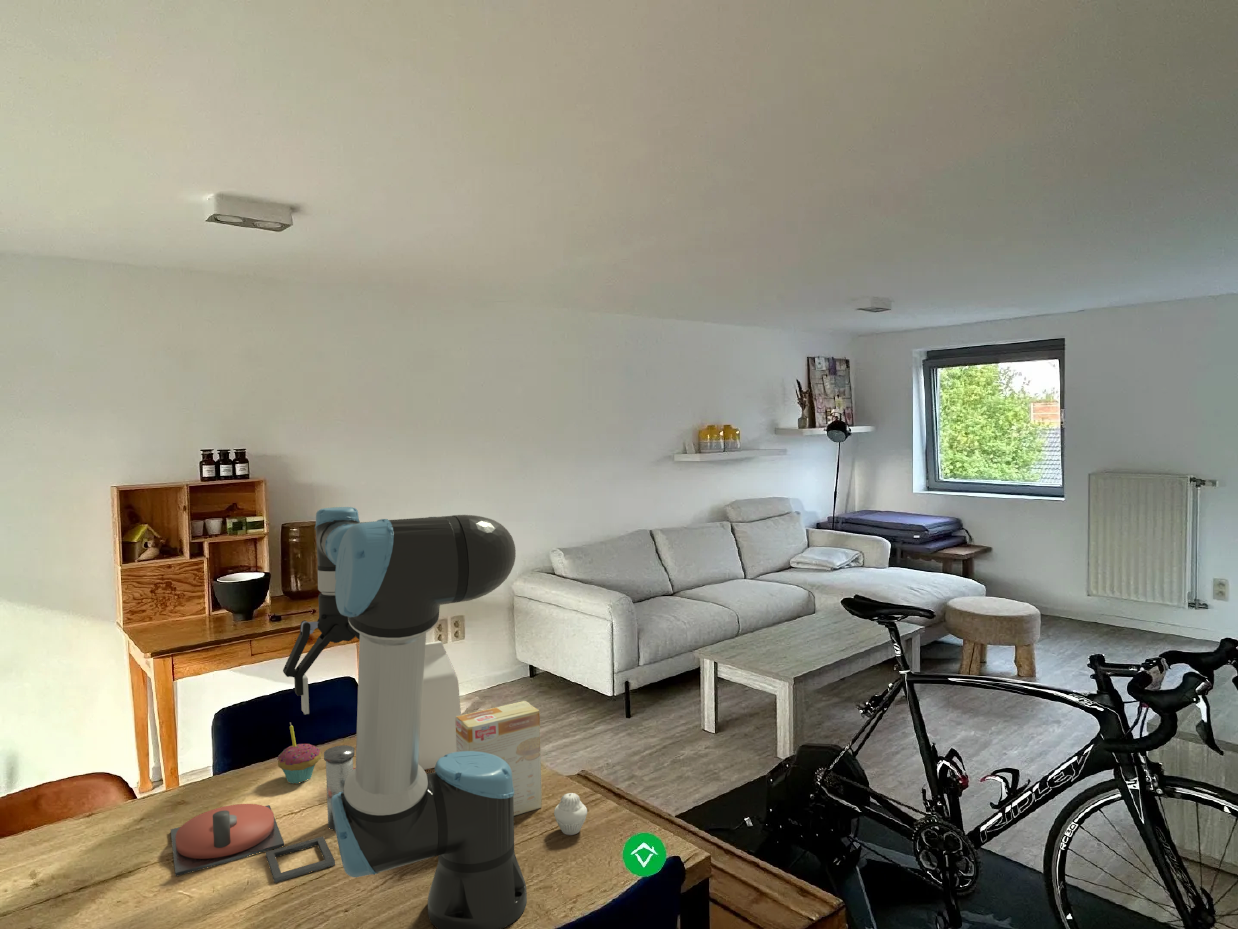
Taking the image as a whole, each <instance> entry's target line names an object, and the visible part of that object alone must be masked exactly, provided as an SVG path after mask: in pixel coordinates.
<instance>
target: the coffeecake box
mask: <svg viewBox="0 0 1238 929" xmlns="http://www.w3.org/2000/svg"><path fill="white" fill-rule="evenodd" d="M540 714H541V713H540V709H538V708H537V707H535V706H533V705H532V704H530V702H528V701H526V700H522V701H517V702H514V703H508V704H504V705H501V706H496V707H491V708H487V709H483V710H479V711H474V712H471V713H470V712H469V713H466V714H461V715H460V716H456V752H461V751H477V752H484V753H489V754H492V755H495V756H498V757H500V758H502V759H503V760H504V761H506V762H507V763H508V765H509V766H510V768H511V772H512V781H513V788H514V796H513V803H514V817H515V816H519V815H522V814H525V813H528V812H532V811H536V810H538V809H541V808H542V807H543V803H542V802H543V799H542V798H543V795H542V794H543V792H542V791H543V790H542V762H541V761H542V756H541V753H542V752H541V724H540V723H541V722H540V720H541V719H540V717H541V716H540Z"/></svg>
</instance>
